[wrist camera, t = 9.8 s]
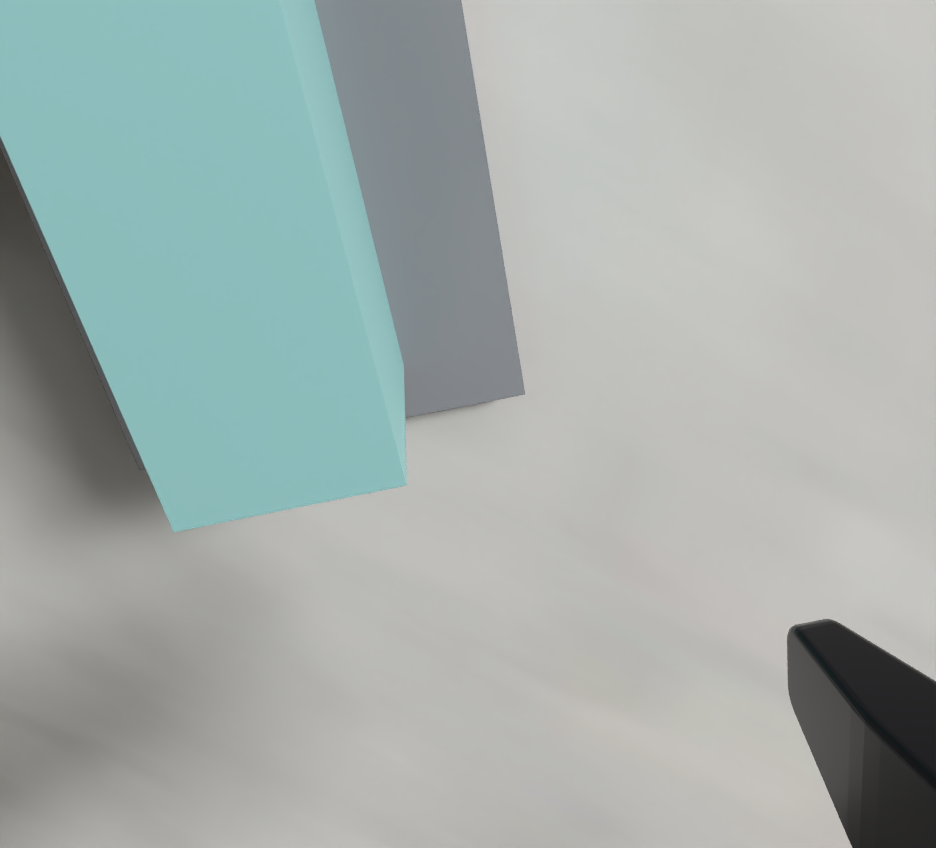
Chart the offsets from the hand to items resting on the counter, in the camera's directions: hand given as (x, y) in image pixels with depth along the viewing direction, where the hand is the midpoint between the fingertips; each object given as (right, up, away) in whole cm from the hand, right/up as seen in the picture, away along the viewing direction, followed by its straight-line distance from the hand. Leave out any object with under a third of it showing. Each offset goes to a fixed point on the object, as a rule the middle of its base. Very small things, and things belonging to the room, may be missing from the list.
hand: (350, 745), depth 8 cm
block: (-3, +9, +7) cm, 12 cm away
